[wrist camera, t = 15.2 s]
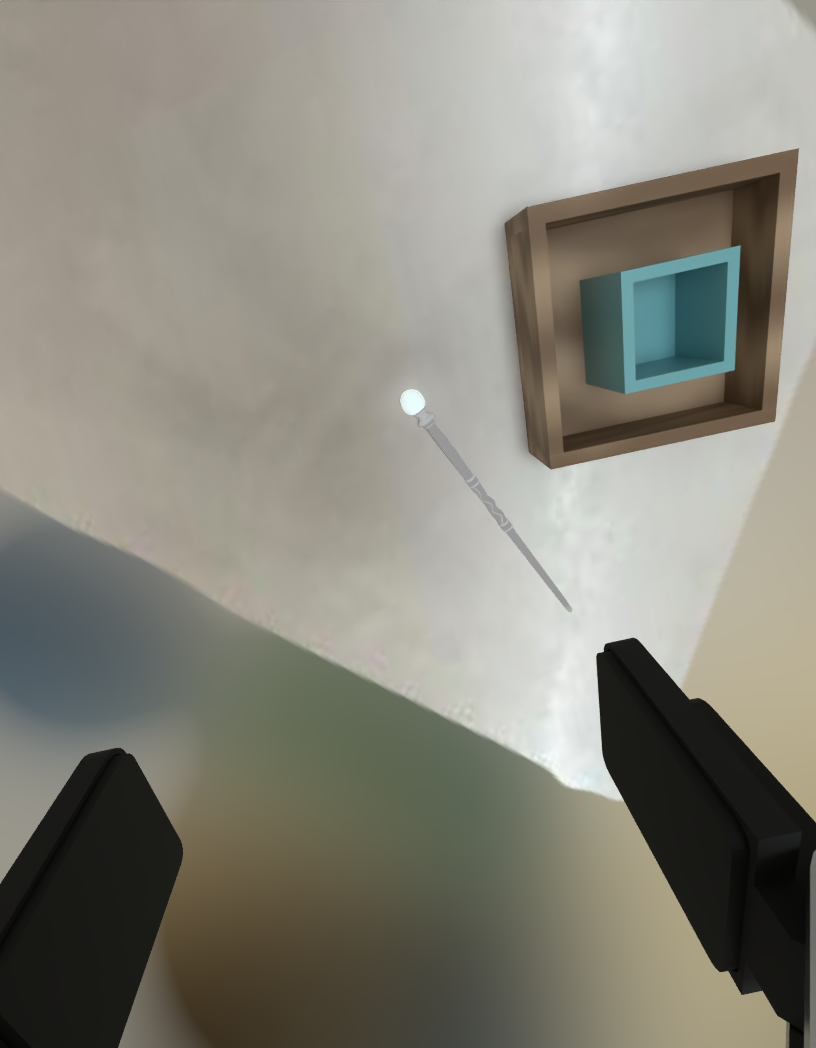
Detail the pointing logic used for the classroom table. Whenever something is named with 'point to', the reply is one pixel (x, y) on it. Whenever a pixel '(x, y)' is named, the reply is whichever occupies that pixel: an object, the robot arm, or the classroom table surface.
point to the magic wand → (472, 481)
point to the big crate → (634, 241)
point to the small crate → (661, 322)
